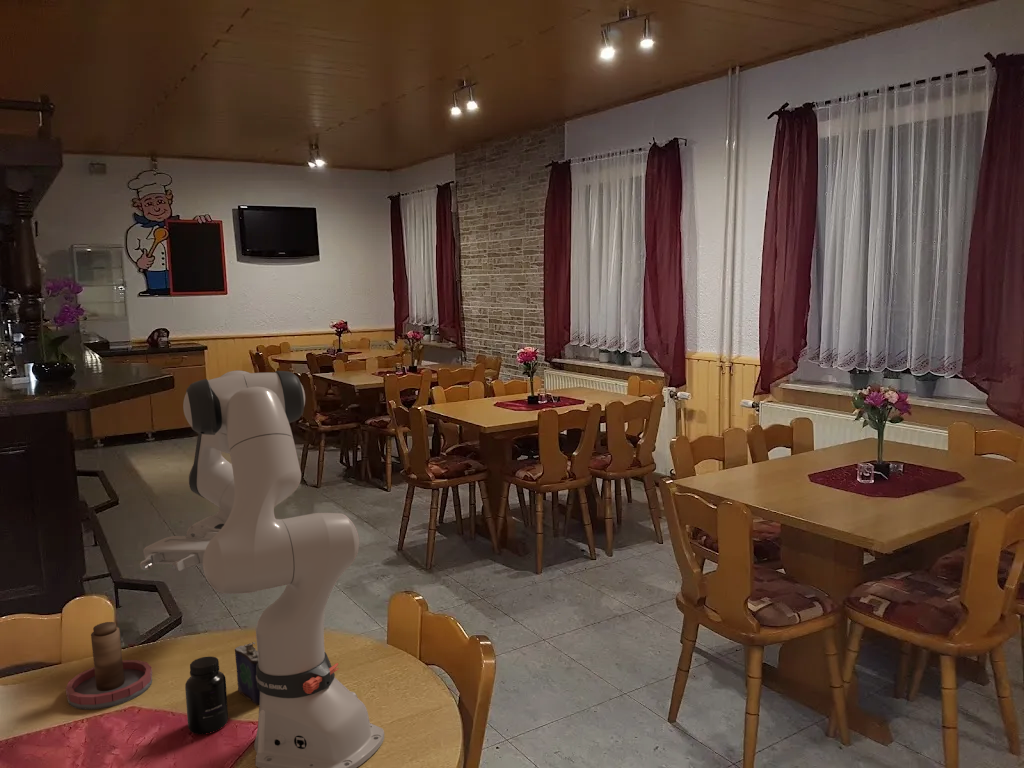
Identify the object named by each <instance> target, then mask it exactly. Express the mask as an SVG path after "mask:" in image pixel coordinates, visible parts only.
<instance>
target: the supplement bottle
mask: <svg viewBox="0 0 1024 768" xmlns="http://www.w3.org/2000/svg"><path fill="white" fill-rule="evenodd" d="M219 663H220V661H219V659H218V658H217V657H216V656H202V657H198V658H196V659H193V661H191V662H190V664H189V675H190V677H188V678H187V680H186V682H185V686H184V687H185V701H186V715H187V716H186V717H187V719H186V720H187V727H188V730H189V731H190V733H192V734H194V735H207V734H206V733H209V734H211V733H210V732H213V731H216V730H218V729H220V728H221V727H223V726H224V725H225V724H226V725H227V723H228V721H229V711H228V710H229V709H228V695H227V682H226V681H227V680H226V679H227V678H226V676H225V674H224V673H223V672H222V671H220V664H219ZM226 725H225V726H226ZM225 726H224V727H225ZM224 727H223V728H224ZM221 729H222V728H221ZM221 729H220V730H221ZM218 731H219V730H218ZM216 732H217V731H216ZM213 733H214V732H213Z"/></svg>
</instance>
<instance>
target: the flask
mask: <svg viewBox="0 0 1024 768" xmlns="http://www.w3.org/2000/svg"><path fill="white" fill-rule="evenodd" d="M255 644H256V642H253V641H252V642H251V643H248V644H246V643H245V644H243V645H239V646H237V647H235V648H234V657H235V666H236V677H237V678H236V680H237V681H236V682H237V692H238V693H239V694H240V695H243V696H244V698H245V699H247V700H250V701H249V702H252V703H253V704H254V705H255V706H259V703H260V691H259V689H258V687H257V680H256V666H257V664H258V652H257V648H255V647H254V645H255Z"/></svg>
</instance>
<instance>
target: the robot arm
mask: <svg viewBox="0 0 1024 768" xmlns="http://www.w3.org/2000/svg"><path fill="white" fill-rule="evenodd" d="M304 389H305V388H304V385H302V383H301V381H300V378H299V377H298V376H297V375H296V374H294V373H293V372H291V371H286V370H276V371H274V372H248V371H244V370H231V371H227V372H226V373H224V374H222V375H221V376H219V377H214V378H212V379H211V378H210V379H207V378H204V379H200V380H196V381H194V382H192V383H190V384H189V386H188V387H187V388H186V390H185V395H184V398H183V406H182V407H183V408H182V409H183V415H184V417H185V419H186V421H187V423H188V424H189V426H190V428H191V429H192V430H193V431H194V432H196V433H197V438H196V439H197V440H196V448H195V453H194V460H193V463H192V466H191V469H190V471H189V474H188V484H189V489H190V491H191V492H192V493H193V494H196V495H198V496H200V497H201V498H203V499H206V500H207V501H209V502H210V503H211V504H214V505H215V506H216V507H218V508H219V509H218V511H216V513H215V514H211V515H208V516H206V517H204V518H203V519H201V520H199V521H197V522H195V523H193V524H192V525H190V526H189V527H188V529H187V531H186V534H185V535H170V536H167V537H165V538H162V539H160V540H157V541H155V542H153V543H151V544H149V545H147V546H145V547H144V548H143V551H142V552H143V557H144V560H142V561H140V563H139V568H140V570H142V571H149V570H150V569H152V568H153V565H171V566H172V570H173V571H174V572H177V571H178V572H181V571H183V570H185V569H187V568H189V567H193V566H199V565H200V566H202V568H203V569H202V570H203V573H204V576H205V579H206V580H207V582H208V584H209V585H210V586H211V587H212V588H213V589H214V590H215V591H217V592H218V593H219V594H222V595H223V594H224V595H225V594H226V595H228V594H229V595H232V594H233V595H236V594H252V593H257V592H260V591H264V590H265V591H266V590H270V589H274V588H277V587H281V586H285V588H284V590H283V592H282V593H281V595H280V596H279V597H278V598H277V599H276V600H275V601H273V603H271V604H270V605H269V606H267V607H266V608H265V609H264V610H263V611H262V612H261V614H260V616H259V618H258V620H257V622H256V625H255V637H256V651H257V652H258V664H257V666H256V680H257V687H258V689H259V691H260V703H259V705H258V722H257V731H256V737H255V740H254V745H253V747H254V750H255V752H256V756H255V767H257V768H358V767H360V766H361V765H362V764H364V763H365V762H366V761H368V760H369V758H371V757H372V756H373V755H374V754H375V753H376V752H377V750H379V748H380V747H381V746H382V744H383V742H384V740H385V730H384V729H383V727H380V726H378V725H375V724H373V723H372V722H370V716H369V712H368V709H367V707H366V704H365V703H364V702H363V701H362V700H360V699H359V698H358V695H357V694H356V692H354V691H351V690H349V688H347V687H346V686H345V685H344V684H343V683H342V682H341V681H339V679H337V677H336V675H335V673H336V671H338V670H339V669H340V668H339V667H338V666H339V663H338V662H337V663H335V664H334V665H332V663H331V661H330V659H329V657H328V654H327V653H326V650H325V613H326V607H327V604H328V601H329V598H330V595H331V593H332V591H333V590H334V588H335V586H336V583H337V582H338V580H339V579H340V577H342V576H343V575H344V572H346V570H348V569H349V568H350V567H351V566H352V565H353V563H354V562H355V560H356V558H357V556H358V554H359V549H360V537H359V532H358V530H357V527H356V526H355V524H354V522H353V521H352V520H351V519H350V518H349V517H348V516H347V515H346V514H344V513H342V512H313V513H309V514H302V515H298V516H293V517H286V518H282V519H281V518H276V516H275V510H274V509H275V508H276V507H277V506H278V505H279V504H281V503H282V502H283V501H285V500H286V499H287V498H289V497H290V496H291V495H293V494H294V493H295V492H296V491H297V489H298V487H299V486H300V483H301V482H302V471H301V466H300V461H299V458H298V454H297V453H298V452H297V448H296V445H295V440H294V436H293V432H292V427H291V425H290V424H291V423H293V422H296V421H298V420H299V419H300V418H301V417H302V415H303V414H304V411H305V405H306V393H305V390H304ZM222 452H223V453H225V454H229V457H230V461H228V460H227V459H226V458H225V457H224V456H223V454H222Z"/></svg>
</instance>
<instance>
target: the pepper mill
mask: <svg viewBox="0 0 1024 768" xmlns="http://www.w3.org/2000/svg"><path fill="white" fill-rule="evenodd" d="M92 630H93V631H92V632H91V633H90V640H91V649H92V660H93V667H94V669H95V679H96V689H97V690H99V691H109V690H113V689H116V688H118V687H120V686H122V685H123V684H124V682H125V681H124V671H123V661H122V660H123V653H122V642H121V633H120V627H118V626H117V623H116V622H114V621H106V622H101V623H99V624H96V625H94V626H93V629H92Z"/></svg>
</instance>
